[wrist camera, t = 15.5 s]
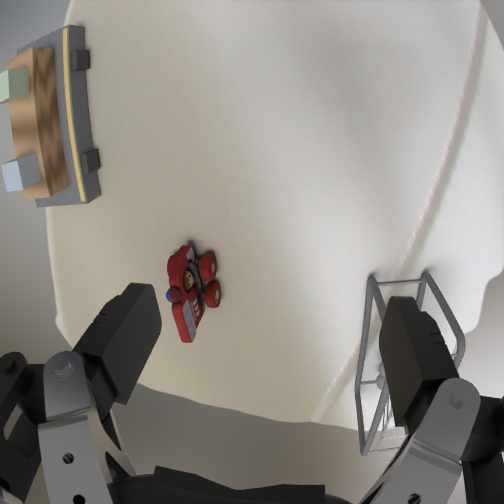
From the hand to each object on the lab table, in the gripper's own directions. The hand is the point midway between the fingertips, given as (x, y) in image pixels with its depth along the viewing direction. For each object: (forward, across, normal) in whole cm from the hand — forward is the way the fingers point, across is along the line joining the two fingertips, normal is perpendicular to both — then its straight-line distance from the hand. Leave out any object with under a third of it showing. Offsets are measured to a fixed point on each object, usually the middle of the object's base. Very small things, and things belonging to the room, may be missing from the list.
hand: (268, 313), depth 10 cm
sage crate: (+24, +35, -14) cm, 45 cm away
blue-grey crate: (+24, +35, -1) cm, 43 cm away
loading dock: (+33, +35, -8) cm, 49 cm away
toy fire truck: (+33, +14, +20) cm, 41 cm away
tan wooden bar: (+29, +35, -8) cm, 46 cm away
